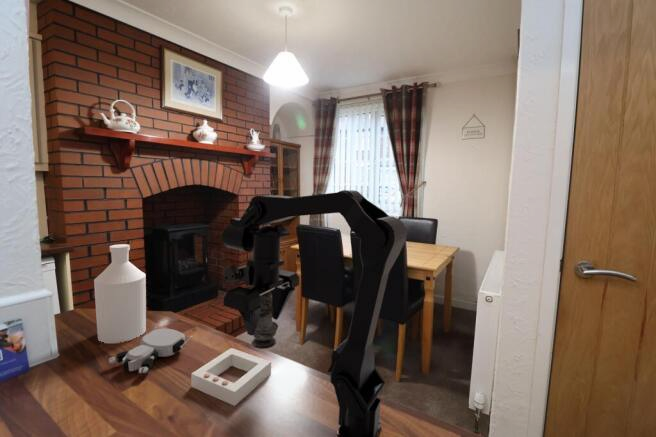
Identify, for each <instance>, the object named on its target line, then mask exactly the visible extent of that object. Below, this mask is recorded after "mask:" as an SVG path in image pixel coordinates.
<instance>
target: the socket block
mask: <svg viewBox="0 0 656 437" xmlns="http://www.w3.org/2000/svg"><path fill="white" fill-rule="evenodd" d="M230 367H234V368H237V369H239V370H242V371H245V372H246V373H245V374H244V375H243V376H241V377H240V378H238V379H237V380H236V381H233V382H232V381H230V380H227V379H225V378H222V377H221V376H219V375H220V374H223V373H224V372H225V371H226V370H228V369H229V368H230ZM271 374H272V361H270V360H267V359H264V358H261V357H259V356H256V355H253V354H250V353H247V352H244V351H241V350H238V349H235V348H233V347H231V348H229V349H226V350H225V351H224V352H222V353H221V354H220V355H218V356H216V357H215V358H213V359H212V360H210V361H209V362H207V363H206V364H204V365H203V366H201V367H200V368H199V367H198V369H197V370H194V371H193V372H191V374H190V377H191V380H190V383H191V384H190V386H191V388H193V389H196V390H198V391H200V392H203V393H205V394H207V395H209V396H212V397H214V398H216V399H219V400H221V401H223V402H225V403H226V404H230V405H232V406H234V407H236V406H237V405H238V404H239V403H240V402H241V401H242V400H244V399H245V398H246V396H248V395H249V394H250V393H251V392H252V391H253V390H255V388H257V387H258V386H259V385H260V384H261V383H263V381H265V380H266V379H267V378H268V377H269V376H270V375H271Z"/></svg>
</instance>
